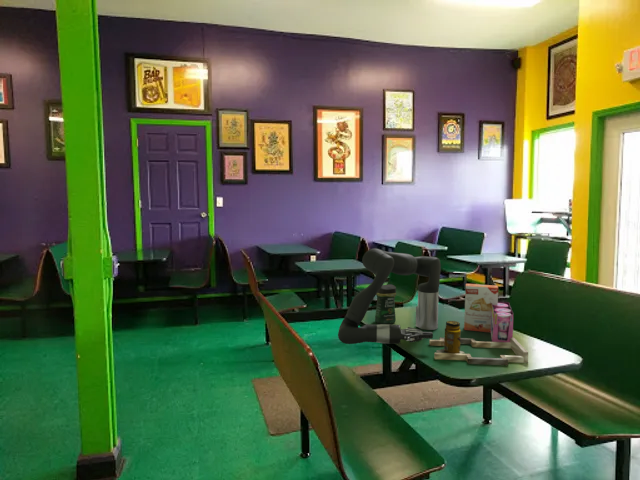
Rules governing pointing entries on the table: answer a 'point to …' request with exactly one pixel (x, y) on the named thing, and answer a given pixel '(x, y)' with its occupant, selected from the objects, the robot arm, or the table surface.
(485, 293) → the cracker box
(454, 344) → the condiment
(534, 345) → the table surface
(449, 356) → the lane
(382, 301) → the coffee jar
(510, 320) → the gum box
